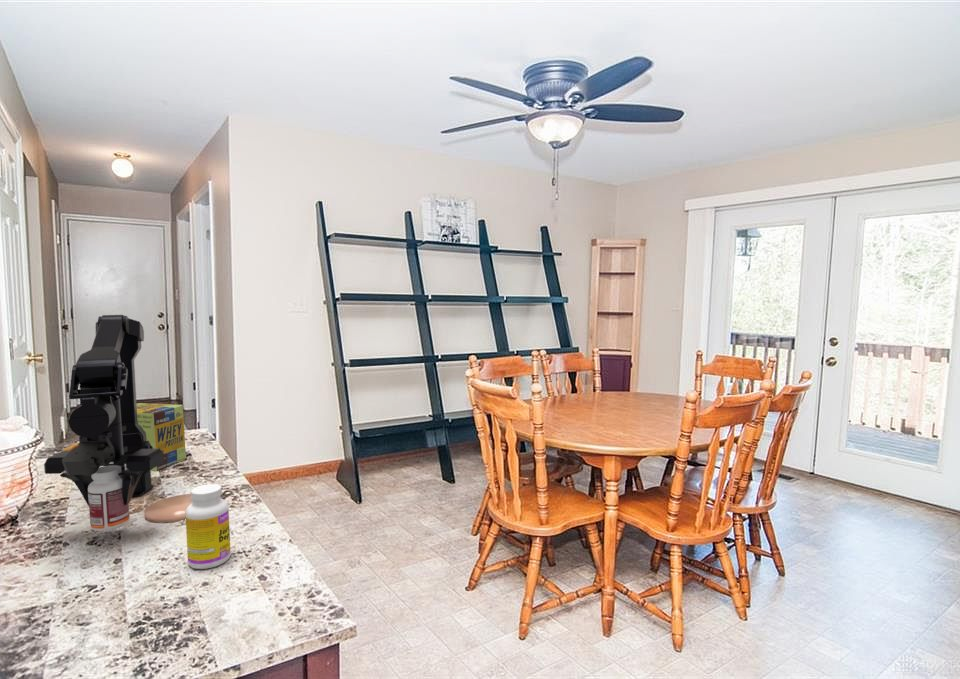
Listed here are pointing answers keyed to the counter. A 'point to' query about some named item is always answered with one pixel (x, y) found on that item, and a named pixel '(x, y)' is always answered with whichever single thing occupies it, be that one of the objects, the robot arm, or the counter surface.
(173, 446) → the protein box
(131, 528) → the counter surface
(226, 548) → the supplement bottle
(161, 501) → the terracotta plate
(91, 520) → the pill bottle
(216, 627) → the counter surface
